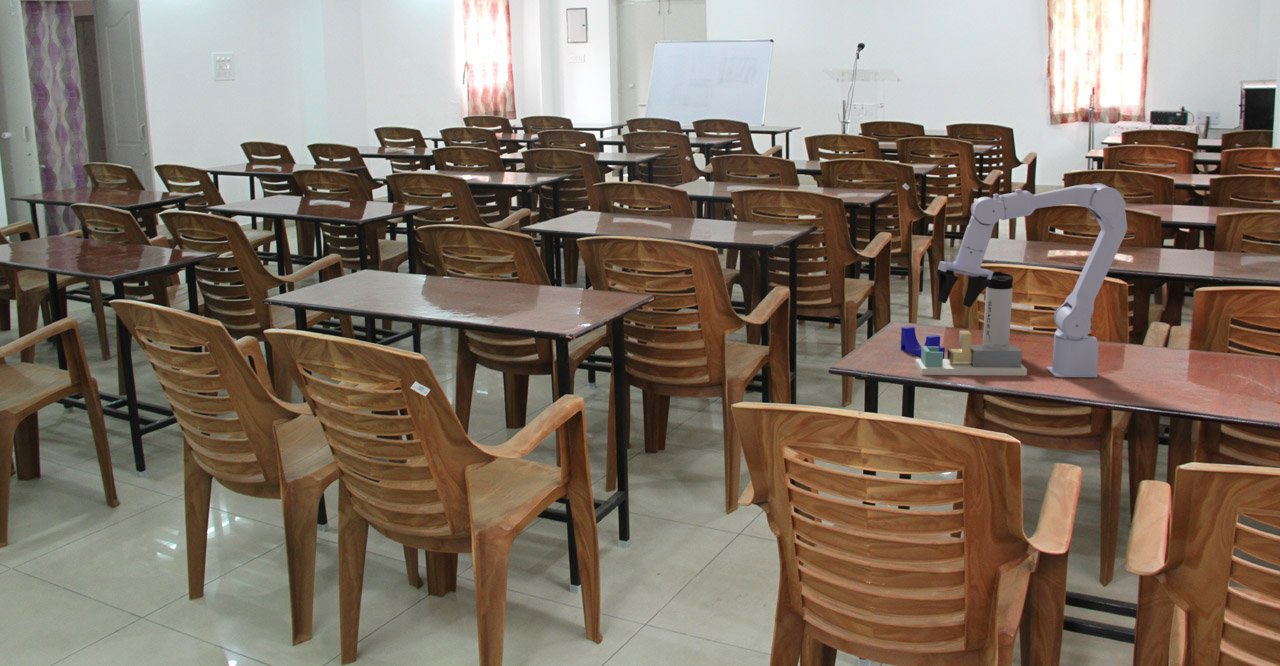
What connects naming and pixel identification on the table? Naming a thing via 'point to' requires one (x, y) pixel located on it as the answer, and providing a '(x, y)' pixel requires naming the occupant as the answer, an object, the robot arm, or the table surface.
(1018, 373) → the base board
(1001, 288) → the travel mug
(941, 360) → the socket
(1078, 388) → the table surface
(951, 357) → the slide bar
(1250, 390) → the table surface
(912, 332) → the blue curved bracket
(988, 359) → the sleeve
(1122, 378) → the table surface
